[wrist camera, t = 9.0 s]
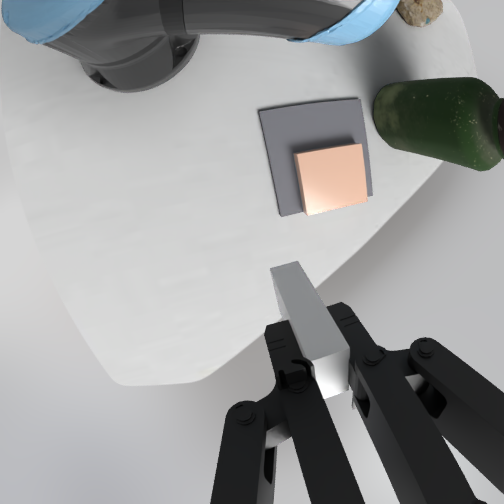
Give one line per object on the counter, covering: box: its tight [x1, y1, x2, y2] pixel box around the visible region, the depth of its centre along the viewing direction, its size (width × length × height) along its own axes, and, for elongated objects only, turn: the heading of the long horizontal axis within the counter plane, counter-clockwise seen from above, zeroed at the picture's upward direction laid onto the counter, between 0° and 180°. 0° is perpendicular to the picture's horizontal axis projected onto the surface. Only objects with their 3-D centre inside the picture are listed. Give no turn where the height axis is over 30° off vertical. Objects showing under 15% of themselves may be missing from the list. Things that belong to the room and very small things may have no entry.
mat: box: [259, 99, 373, 217], centre depth 34 cm, size 14×14×1 cm
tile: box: [293, 143, 368, 216], centre depth 34 cm, size 8×2×9 cm
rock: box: [396, 0, 443, 27], centre depth 23 cm, size 8×11×4 cm
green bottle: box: [374, 77, 504, 171], centre depth 22 cm, size 10×10×25 cm
